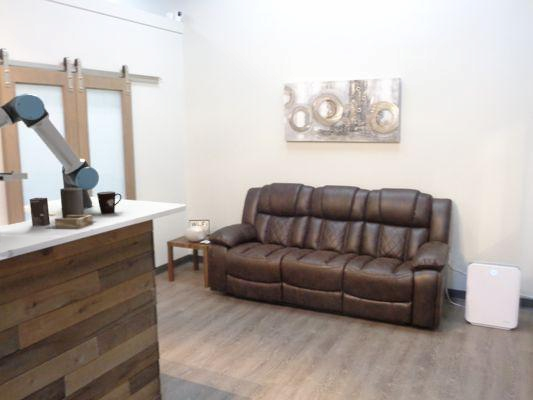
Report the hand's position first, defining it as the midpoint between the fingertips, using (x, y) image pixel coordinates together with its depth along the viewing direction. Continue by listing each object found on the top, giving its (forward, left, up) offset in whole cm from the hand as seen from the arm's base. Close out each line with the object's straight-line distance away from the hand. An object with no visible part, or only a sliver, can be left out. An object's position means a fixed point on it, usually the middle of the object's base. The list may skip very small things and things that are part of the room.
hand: (19, 177), depth 217 cm
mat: (-1, +23, -21) cm, 31 cm away
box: (-1, +8, -22) cm, 23 cm away
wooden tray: (-1, +24, -21) cm, 32 cm away
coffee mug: (-33, +23, -22) cm, 45 cm away
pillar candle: (-20, +11, -22) cm, 31 cm away
